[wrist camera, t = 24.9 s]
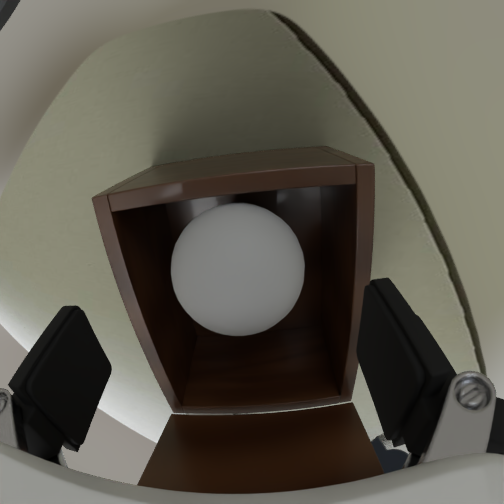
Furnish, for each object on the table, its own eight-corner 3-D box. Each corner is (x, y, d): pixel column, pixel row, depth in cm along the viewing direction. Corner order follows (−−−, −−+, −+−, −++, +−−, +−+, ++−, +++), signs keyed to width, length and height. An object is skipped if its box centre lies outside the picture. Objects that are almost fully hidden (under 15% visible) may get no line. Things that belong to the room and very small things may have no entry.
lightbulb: (193, 180, 20) (134, 241, 10) (282, 168, 19) (313, 220, 9) (208, 259, 22) (177, 367, 12) (289, 250, 22) (315, 356, 12)
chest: (150, 166, 20) (91, 197, 12) (327, 146, 20) (375, 163, 11) (191, 337, 27) (173, 412, 19) (328, 325, 26) (351, 401, 18)
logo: (312, 473, 36) (341, 526, 27) (394, 410, 31) (438, 471, 21) (371, 454, 44) (396, 494, 35) (436, 397, 39) (470, 439, 30)
